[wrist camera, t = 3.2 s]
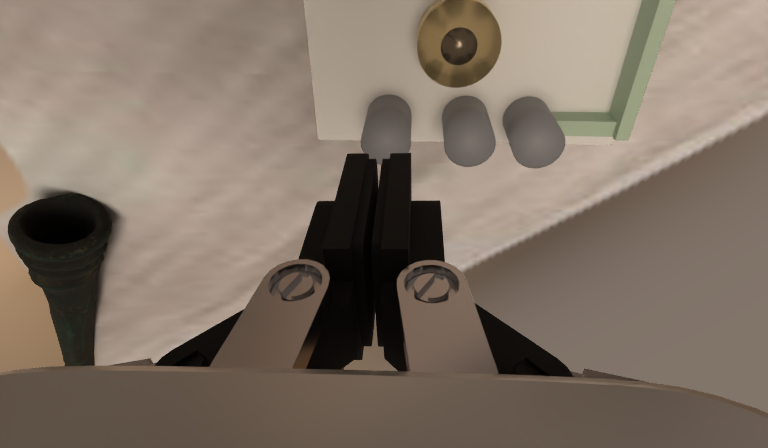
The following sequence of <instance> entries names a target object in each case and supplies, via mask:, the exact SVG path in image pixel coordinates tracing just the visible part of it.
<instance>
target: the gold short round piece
mask: <svg viewBox="0 0 768 448" xmlns="http://www.w3.org/2000/svg"><path fill="white" fill-rule="evenodd" d="M501 44H502V38H501V31H500V27H499V24H498V22H497V20H496V19H495V17H494V15H493V14H492V12H491V10H490V9H489V7H488V6H487V5H486V4H485V3H484V2H483V1H482V0H435V1H434V2H433V3H432V4H431V5H430V6H429V7H428V8H427V9H426V11H425V12H424V14H423V15H422V18H421V20H420V23H419V26H418V33H417V53H418V58H419V62H420V64H421V67H422V68H423V70H424V72H425V73H426V74H427V75H428V76H429V77H430V78H431V79H432V80H433V81H435V82H436V83H438V84H440V85H443V86H446V87H452V88H461V87H466V86H469V85H472V84H474V83H476V82H478V81H480V80H481V79H483V78H484V77H485V76H486V75H487V74H488V73H489V72H490V71H491V70H492V68H493V67H494V65H495V64H496V62H497V60H498V57H499V54H500V51H501Z"/></svg>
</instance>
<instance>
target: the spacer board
mask: <svg viewBox="0 0 768 448" xmlns="http://www.w3.org/2000/svg"><path fill="white" fill-rule="evenodd" d="M434 1H435V0H304V10H305V19H306V29H307V38H308V48H309V57H310V67H311V76H312V86H313V95H314V105H315V114H316V124H317V133H318V140H361V147H362V150H363V152H364V154H365V153H368V154H369V159H376V160H377V163H378V164H381V165H382V159H390V153H408V152H409V150H410V146H411V141H415V142H444V147H445V152H446V154H447V156H448V158H449V159H450V160H451V161H452V162H454V163H455V164H457V165H460V166H464V167H472V166H477V165H479V164H481V163H483V162H485V161H486V160H487V159H488V158H489V157H490V156H491V155H492V153H493V151H494V149H495V145H496V143H509V144H510V147H511V149H512V152H513V155H514V157H515V159H516V160H517V162H518V163H520V164H521V165H523V166H525V167H528V168H541V167H545V166H547V165H549V164H551V163H553V162H554V161H555V160H557V159H558V158H559V156H560V155H561V154H562V152H563V150H564V147H565V144H575V145H612V142H613V139H615V140H627V141H628V140H629V137H630V135H631V132H632V129H633V126H634V123H635V120H636V117H637V114H638V111H639V108H640V105H641V102H642V99H643V96H644V93H645V90H646V87H647V84H648V81H649V78H650V75H651V72H652V69H653V66H654V63H655V60H656V58H657V55H658V52H659V49H660V46H661V43H662V40H663V37H664V34H665V31H666V28H667V25H668V22H669V19H670V16H671V13H672V10H673V7H674V4H675V1H676V0H482V1H483V2H484V3H485V4H486V5H487V6H488V7H489V9H490V10H491V12H492V14H493V15H494V17H495V19H496V20H497V22H498V24H499V27H500V31H501V38H502V44H501V51H500V54H499V57H498V60H497V62H496V64H495V65H494V67H493V68H492V70H491V71H490V72H489V73H488V74H487V75H486V76H485V77H484V78H483V79H481V80H480V81H478V82H476V83H474V84H472V85H469V86H466V87H461V88H452V87H446V86H443V85H440V84H438V83H436V82H435V81H433V80H432V79H431V78H430V77H429V76H428V75H427V74H426V73H425V72H424V70H423V68H422V67H421V64H420V62H419V58H418V53H417V33H418V26H419V23H420V20H421V18H422V15H423V14H424V12H425V11H426V9H427V8H428V7H429V6H430V5H431V4H432V3H433V2H434Z"/></svg>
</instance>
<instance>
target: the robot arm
mask: <svg viewBox="0 0 768 448" xmlns="http://www.w3.org/2000/svg"><path fill="white" fill-rule="evenodd" d="M375 313H376V323H377V324H376V325H377V337H378V346H381V347H382V346H383V347H384V357H385V359H386V360H387V361H388V362H389V363H390V364H391V365H392V366H393V367H394V368H396V369H397V370H398V371H369V370H367V371H366V370H344V367H345V366H346V365H348V364H349V363H350V362H352V361H353V360H362V357H363V348H364V346H371V345H372V339H373V329H374V319H375ZM0 448H768V413H766V412H764V411H761V410H759V409H757V408H754V407H751V406H748V405H744V404H741V403H739V402H735V401H732V400H729V399H726V398H723V397H720V396H717V395H714V394H709V393H704V392H700V391H696V390H691V389H688V388H683V387H678V386H671V385H664V384H657V383H650V382H645V381H640V380H636V379H631V378H626V377H622V376H617V375H612V374H608V373H602V372H598V371H593V370H589V369H584V370H583V373H582V374H580V373H575V372H571V371H570V370H569V369H568V368H567V367H566V366H565V365H564V364H563V363H562V362H561V361H560V360H558V359H557V358H556V357H554V356H553V355H551V354H550V353H548V352H547V351H545V350H544V349H542V348H541V347H539V346H538V345H536V344H535V343H533V342H532V341H531V340H529V339H528V338H526V337H525V336H523V335H521V334H520V333H518V332H517V331H516V330H514V329H513V328H511V327H510V326H508V325H507V324H505V323H504V322H502V321H501V320H499V319H497V318H496V317H495V316H493V315H492V314H490V313H489V312H487V311H486V310H484V309H483V308H481V307H480V306H478V305H477V304H475V303H474V301H473V298H472V295H471V292H470V289H469V286H468V283H467V280H466V278H465V277H464V275H463V273H462V272H461V271H460V270H458V269H457V268H456V267H455V266H453V265H451V264H448V263H446V262H445V259H444V246H443V232H442V219H441V205H440V201H411V153H390V159H382V166H381V173H380V181H379V189H378V172H377V160H376V159H369V154H368V153H365V154H347V157H346V161H345V165H344V169H343V172H342V176H341V180H340V184H339V187H338V191H337V195H336V199H335V201H318V202H317V204H316V206H315V209H314V213H313V216H312V219H311V222H310V225H309V228H308V231H307V234H306V237H305V240H304V244H303V247H302V250H301V253H300V256H299V259H297V260H292V261H287V262H284V263H282V264H280V265H277V266H276V267H274V268H273V269H272V270H270V271H269V272H268V273H267V274H266V276H265V277H264V278H263V280H262V281H261V283H260V285H259V286H258V288H257V290H256V291H255V293H254V294H253V296H252V298H251V299H250V301H249V303H248V304H247V306H246V308H245V309H244V310H242V311H240V312H238V313H236V314H235V315H233V316H231V317H229V318H228V319H226V320H224V321H222V322H221V323H219V324H217V325H215V326H214V327H212V328H210V329H208V330H207V331H205V332H203V333H201V334H200V335H198V336H196V337H194V338H193V339H191V340H189V341H187V342H186V343H184V344H182V345H180V346H179V347H177V348H175V349H173V350H172V351H170V352H169V353H167V354H166V355H165V356H163V357H162V358H161V359H160V360H159V361H158V362H157V363H154V364H153V362H152V360H151V359H144V360H138V361H132V362H126V363H121V364H115V365H109V366H61V367H41V368H31V369H21V370H12V371H7V372H2V373H0Z"/></svg>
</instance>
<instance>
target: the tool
mask: <svg viewBox="0 0 768 448" xmlns="http://www.w3.org/2000/svg"><path fill="white" fill-rule="evenodd" d="M111 227H112V221H111V218H110V216H109V214H108V212H107V211H106V210H105V209H104V208H103V207H102V206H101V205H100V204H98V203H97V202H95V201H94V200H92V199H90V198H88V197H85V196H82V195H77V194H66V195H61V196H55V197H50V198H45V199H40V200H37V201H34V202H32V203H30V204H27V205H25V206H23V207H22V208H20V209H19V210H18V211H17V212H15V214H14V215H13V216H12V217H11V219H10V221H9V224H8V235H9V238H10V241H11V242H12V244H13V245H14V247H15V249H16V252H17V254H18V255H19V257H20V258H21V259H22V260H23V262H24V264H25V265H26V266H27V267H28V268H29V275H30V277H31V279H32V281H33V282H34V283H35V284H36V285H38V286H39V287H41V288H42V289H43V291H44V293H45V295H46V298H47V300H48V303H49V307H50V314H51V317H52V320H53V324H54V327H55V330H56V333H57V337H58V340H59V344H60V347H61V351H62V355H63V360H64V362H65V366H94V314H95V282H96V275H97V272H98V270H99V268H100V263H101V262H102V261H103V259H104V252H105V251H106V247H107V240H108V237H109V235H110V232H111Z"/></svg>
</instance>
